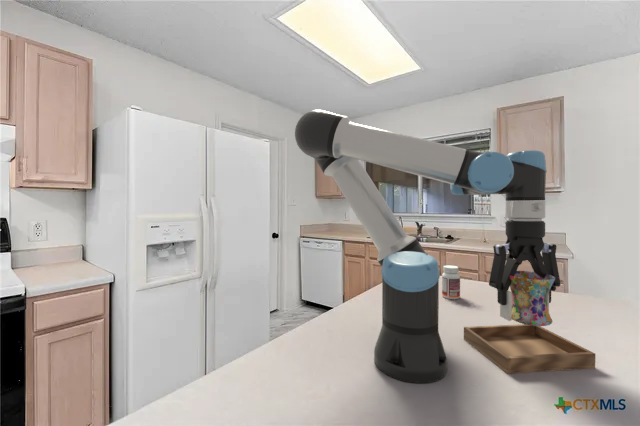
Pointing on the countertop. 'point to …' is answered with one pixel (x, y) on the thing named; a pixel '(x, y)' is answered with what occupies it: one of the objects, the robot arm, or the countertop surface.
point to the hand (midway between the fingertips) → (524, 317)
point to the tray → (528, 348)
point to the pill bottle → (451, 282)
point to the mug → (531, 298)
